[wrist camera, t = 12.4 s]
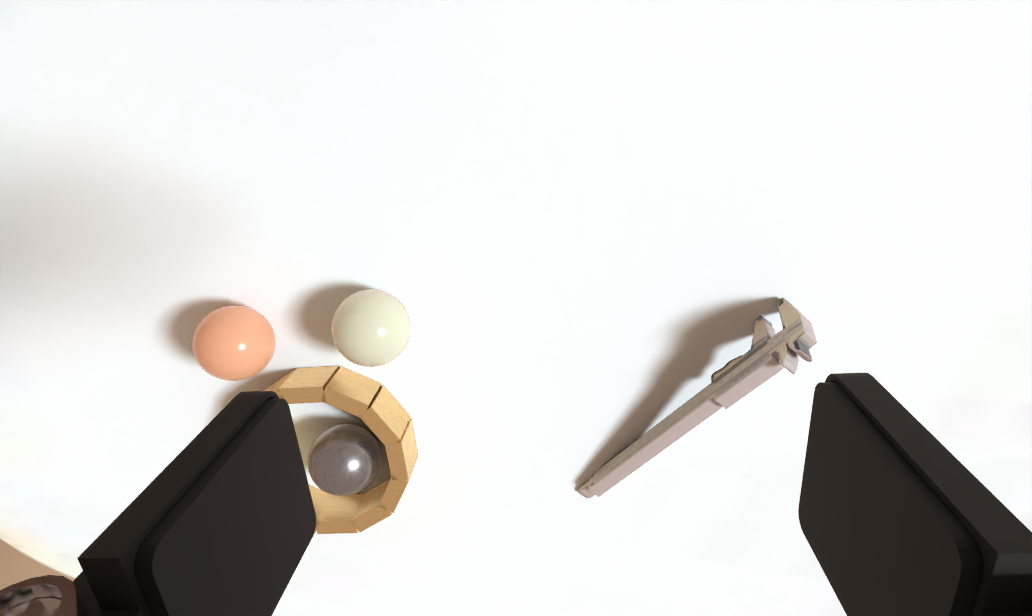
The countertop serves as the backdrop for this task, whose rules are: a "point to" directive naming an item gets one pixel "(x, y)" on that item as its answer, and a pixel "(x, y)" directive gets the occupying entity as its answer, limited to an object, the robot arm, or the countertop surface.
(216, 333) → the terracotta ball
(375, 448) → the steel ball
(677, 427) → the caliper
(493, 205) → the countertop surface
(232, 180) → the countertop surface
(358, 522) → the ring
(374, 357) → the cream ball
